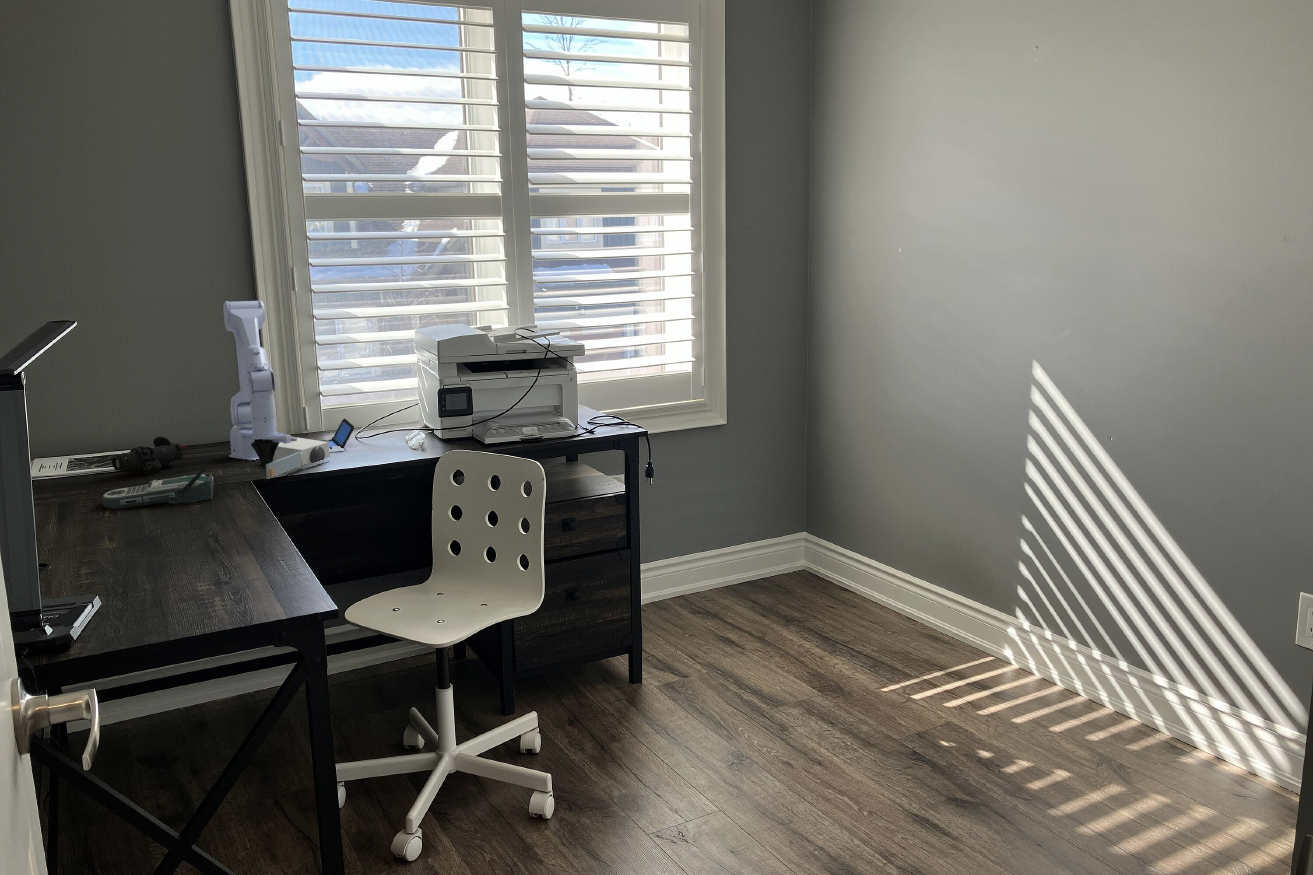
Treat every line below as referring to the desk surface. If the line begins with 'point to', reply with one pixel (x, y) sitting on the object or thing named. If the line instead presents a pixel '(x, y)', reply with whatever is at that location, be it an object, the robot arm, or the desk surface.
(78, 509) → the desk surface
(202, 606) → the desk surface
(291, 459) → the side door
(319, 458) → the camera body
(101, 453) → the desk surface
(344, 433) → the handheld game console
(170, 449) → the night vision scope
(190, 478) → the communication device
